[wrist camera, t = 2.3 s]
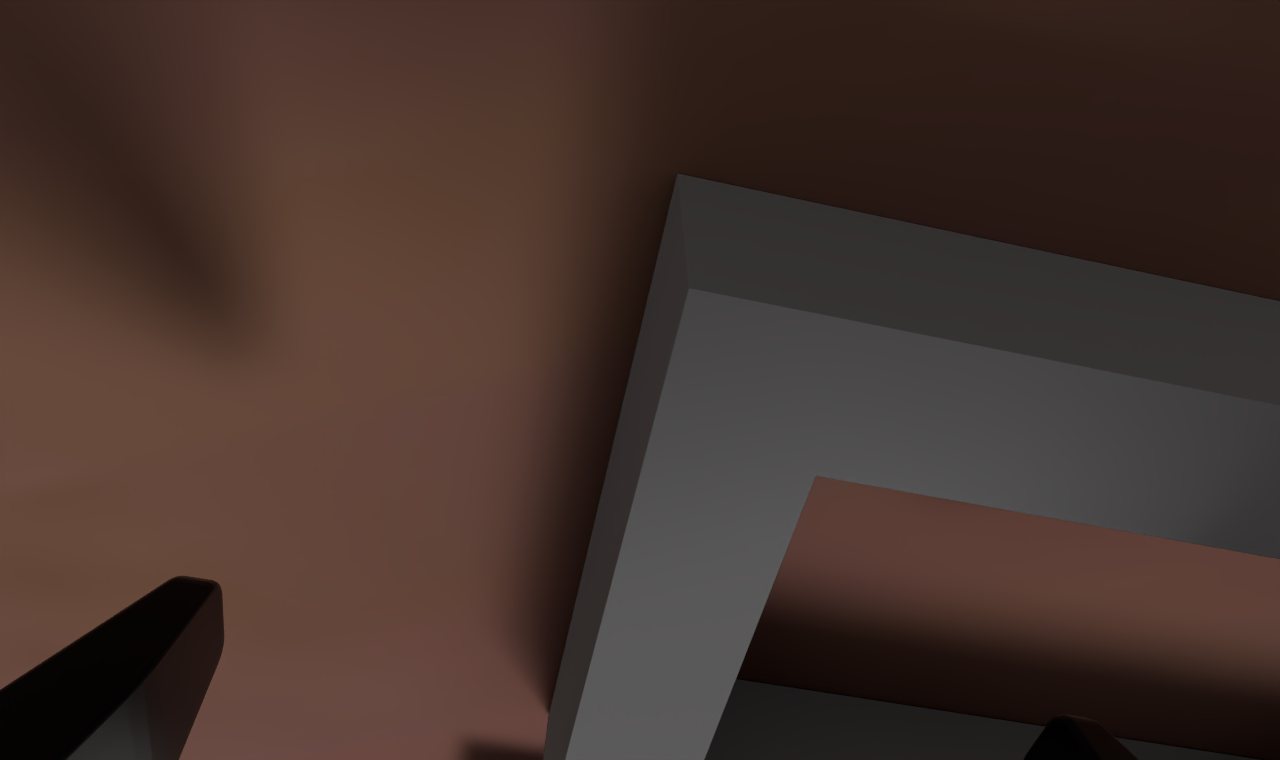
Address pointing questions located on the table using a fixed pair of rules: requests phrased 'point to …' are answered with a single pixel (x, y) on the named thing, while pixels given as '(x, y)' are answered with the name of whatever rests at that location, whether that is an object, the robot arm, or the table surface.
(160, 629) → the robot arm
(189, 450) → the table surface
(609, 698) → the grey rectangular frame
